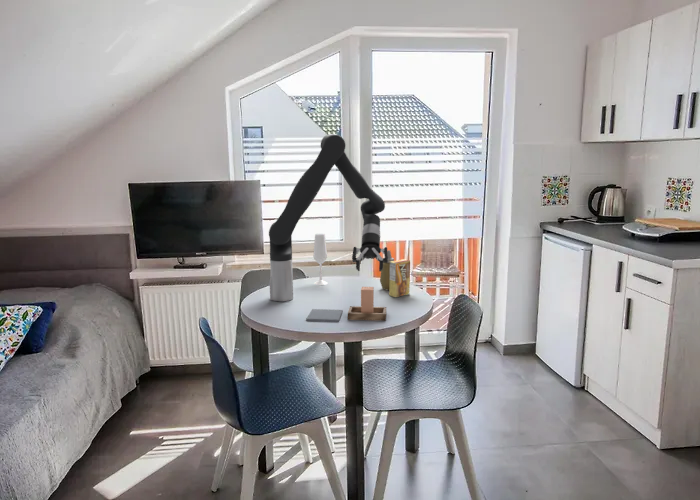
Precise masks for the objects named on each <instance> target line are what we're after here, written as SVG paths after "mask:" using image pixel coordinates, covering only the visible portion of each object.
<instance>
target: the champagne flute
mask: <svg viewBox="0 0 700 500" xmlns="http://www.w3.org/2000/svg"><path fill="white" fill-rule="evenodd" d="M326 240H327V239H326V234H325V233H315V234H314V243H313V244H314V246H313V260H315V262H316V263H317V264H319V267H318V269H319V273H318V274H319V279H318V280H317V281H315V282H314V283H313V284H314V285H316V286H324V285H325V286H326V285H328V282H327V281H325V280H323V268H322V267H323V265H322V264H324V263H325V261H326V260H327V259H328V252H327V242H326Z"/></svg>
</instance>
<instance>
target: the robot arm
mask: <svg viewBox="0 0 700 500" xmlns="http://www.w3.org/2000/svg"><path fill="white" fill-rule="evenodd" d="M345 149H346V140H345V139H344V138H343V137H342V136H341V135H339V134H335V133H329V134H326V135H325V136H323V137H322V139H321V141H320V151H319V153H318V155H317V157H316V158H315V160H314V162H313V163H312V164H311V166H309V168H307V170H306V171H305V172H304V173H303V174H302V175H301V176H300V178H299V180H298V181H297V183H296V185H295V186H294V188H293V190H292V191H291V194H290V196H289V198H288V200H287V203H286V205H285V207H284V210H283V211H282V212H281V214H280V215H279V216H278V218H277V219H276V221H275V222H273V223H272V224H271V226H270V228H269V230H268V236H269V237H268V238H269V265H270V267H269V269H270V278H269V281H268V282H269V301H275V302H288V301H291V300H293V299H294V279H293V278H294V277H293V247H292V246H293V245H292V240H293V239H292V236H293V232H294V230H295V228H296V227H297V224H298V223H299V220H300V219H301V218H302V217H303V215H304V214H305V212H306V211H307V210H308V209H309V207H310V206H311V204H312V203H313V201H314V200H315V198H316V197H317V195H318V193H319V191H320V189H321V188H322V187H323V185H324V182H325V181H326V180H327V177H328V175H329V174H330V172H331V170H332V168H333V167H334V166H335V167H336V168H337V170H338V171H339V172H340V173H341V175H342V177H343V178H344V180H345V181H346V183H347V185H348V186H349V188H350V189H351V191H352V192H353V194H354V195H355V197H356V198H357V199H360V200H362V199H367V200H365V201H363V202H362V204H361V205H360V212H361V215H362V220H363V226H362V231H361V232H362V233H361V235H362V236H361V247H360V248H357V247H356V246H354V247H353V249H352V256H351V261H352V263H355V269H356V270H357V272H360V271H361V268H360V267H361V262H362V261H364V260H365V259H367V260H369V259H373V260H374V259H376V261H377V262H378V263H379V264H378V265H379V267H378V272H381V270H383V263H387V262H388V254H387V251H388V247H385V246H384V247H383V248H381V218H380V216H378V214H379V213H382V212H383V211H384V210H385V209H386V206H385V205H386V204H385V203H386V202H385V201H384V200H383V198H382V197H381V196H380V195H379V194H378V193H377V192H375V190H374V189H372V188H371V187H370V185H369V184H368V182H367V180H366V179H365V178H364V176H363V174H361V172H360V171H359V170H358V169H357V168H356V167H355V165H354V164H353V163H352V161H351V160H350V158H349V157H348V156H347V153H346V151H345ZM359 253H360V254H359ZM380 253H382V254H383V255H384V257H383V256H381V254H380ZM358 254H359V255H358ZM357 255H358V256H357Z"/></svg>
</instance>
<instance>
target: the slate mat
mask: <svg viewBox="0 0 700 500" xmlns="http://www.w3.org/2000/svg"><path fill="white" fill-rule="evenodd" d="M342 314H343V309H329V308H328V309H326V308H325V309H324V308H318V309H317V308H312V309H311V310H310V312H309V314H308V316H307V317H306V319H305V321H306V322H329V323H330V322H331V323H332V322H334V323H339V321H340V319H341V317H342Z"/></svg>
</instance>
